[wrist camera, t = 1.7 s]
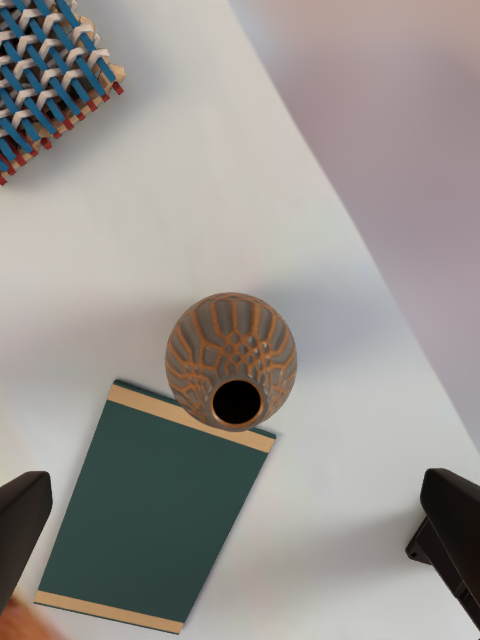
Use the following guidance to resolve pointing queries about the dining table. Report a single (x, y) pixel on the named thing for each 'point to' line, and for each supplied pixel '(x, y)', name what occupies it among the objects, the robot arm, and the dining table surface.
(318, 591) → the dining table surface
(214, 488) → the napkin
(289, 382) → the vase
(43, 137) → the woven mat
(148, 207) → the dining table surface
